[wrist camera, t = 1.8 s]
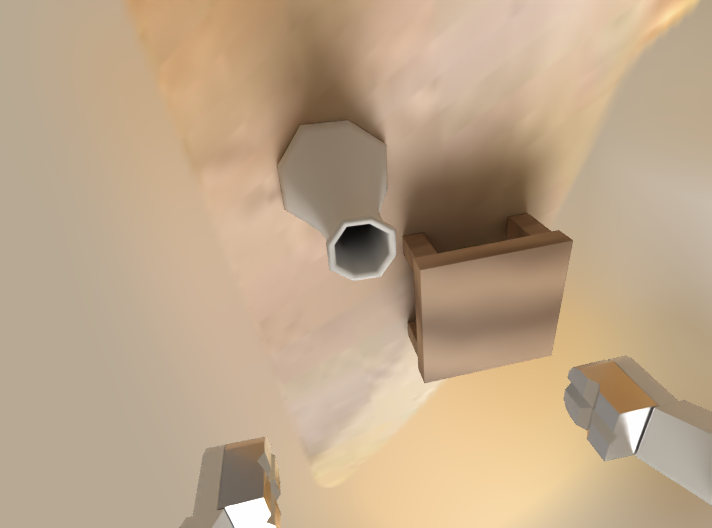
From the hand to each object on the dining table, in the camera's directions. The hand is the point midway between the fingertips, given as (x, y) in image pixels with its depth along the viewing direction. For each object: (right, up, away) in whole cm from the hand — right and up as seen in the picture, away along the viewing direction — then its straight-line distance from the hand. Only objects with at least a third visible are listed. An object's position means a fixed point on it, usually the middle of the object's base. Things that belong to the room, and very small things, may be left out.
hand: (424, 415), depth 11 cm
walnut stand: (+7, +3, +22) cm, 23 cm away
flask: (-3, +10, +16) cm, 19 cm away
